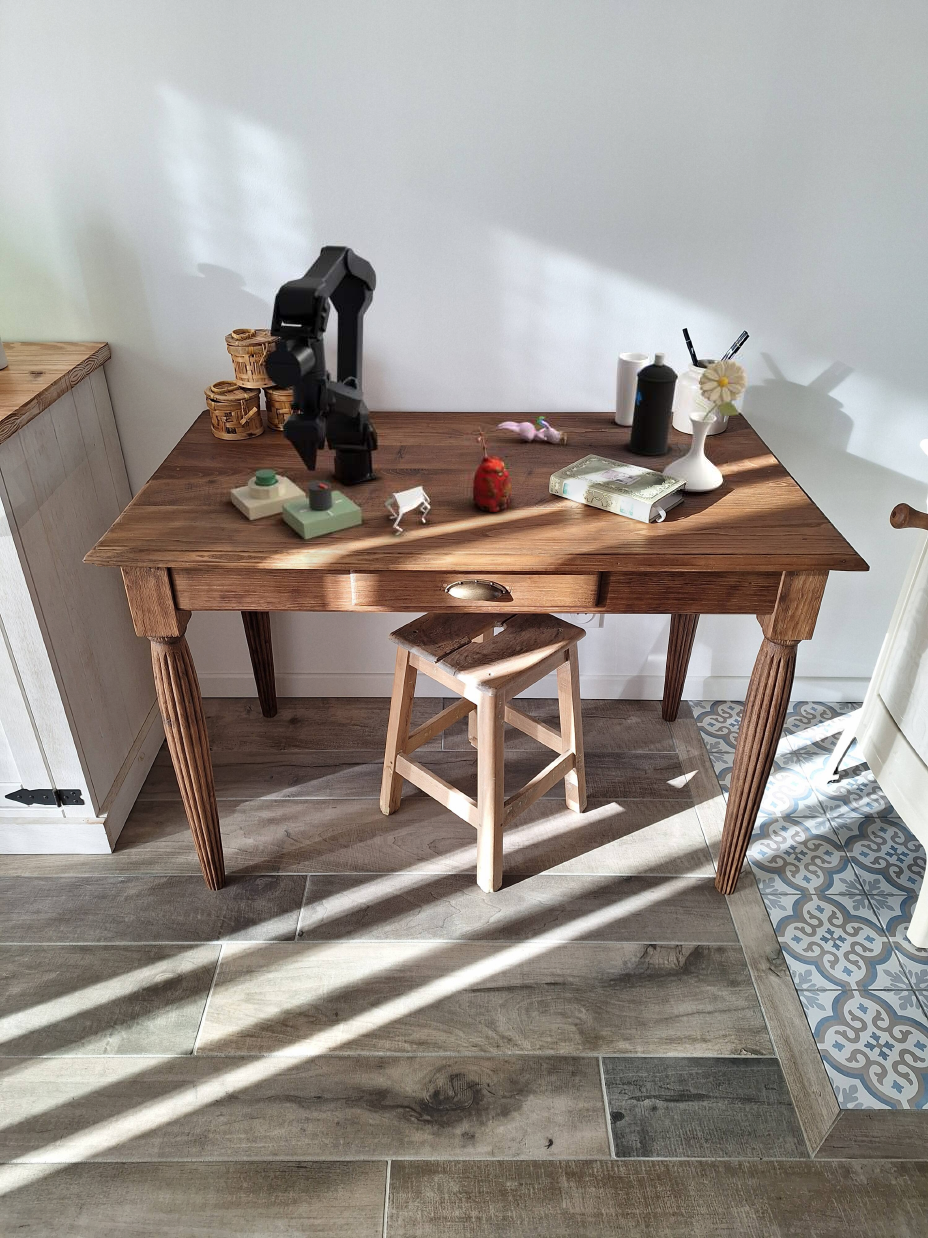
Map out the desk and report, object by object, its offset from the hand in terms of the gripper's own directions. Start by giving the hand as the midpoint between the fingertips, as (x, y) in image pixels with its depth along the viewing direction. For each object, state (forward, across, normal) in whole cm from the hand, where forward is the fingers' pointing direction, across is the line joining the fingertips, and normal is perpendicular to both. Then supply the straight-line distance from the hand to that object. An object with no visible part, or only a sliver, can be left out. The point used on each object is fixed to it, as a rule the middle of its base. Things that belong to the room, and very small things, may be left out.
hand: (316, 459), depth 145 cm
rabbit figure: (+12, +40, -39) cm, 57 cm away
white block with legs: (+12, 0, -15) cm, 19 cm away
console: (+12, 0, 0) cm, 12 cm away
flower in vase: (+12, +17, -70) cm, 73 cm away
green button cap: (+8, +7, +11) cm, 15 cm away
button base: (+12, +7, +11) cm, 18 cm away
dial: (+9, 0, 0) cm, 9 cm away
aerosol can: (+12, +36, -64) cm, 74 cm away
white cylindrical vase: (+12, +52, -62) cm, 81 cm away
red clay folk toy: (+12, +8, -30) cm, 33 cm away
